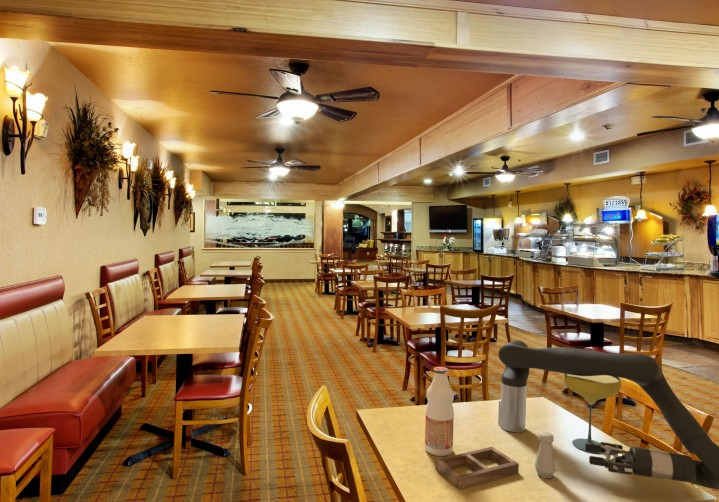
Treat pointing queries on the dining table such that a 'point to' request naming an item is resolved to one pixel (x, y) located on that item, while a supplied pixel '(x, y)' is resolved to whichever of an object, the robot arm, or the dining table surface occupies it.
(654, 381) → the robot arm
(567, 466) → the dining table surface
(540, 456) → the salt shaker
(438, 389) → the fruit juice
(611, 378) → the cocktail glass
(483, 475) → the caddy
